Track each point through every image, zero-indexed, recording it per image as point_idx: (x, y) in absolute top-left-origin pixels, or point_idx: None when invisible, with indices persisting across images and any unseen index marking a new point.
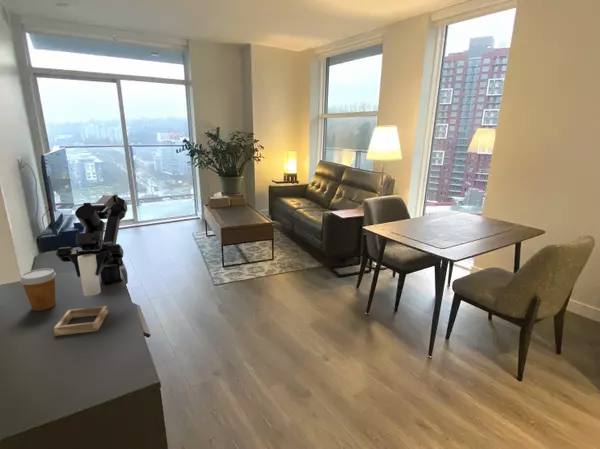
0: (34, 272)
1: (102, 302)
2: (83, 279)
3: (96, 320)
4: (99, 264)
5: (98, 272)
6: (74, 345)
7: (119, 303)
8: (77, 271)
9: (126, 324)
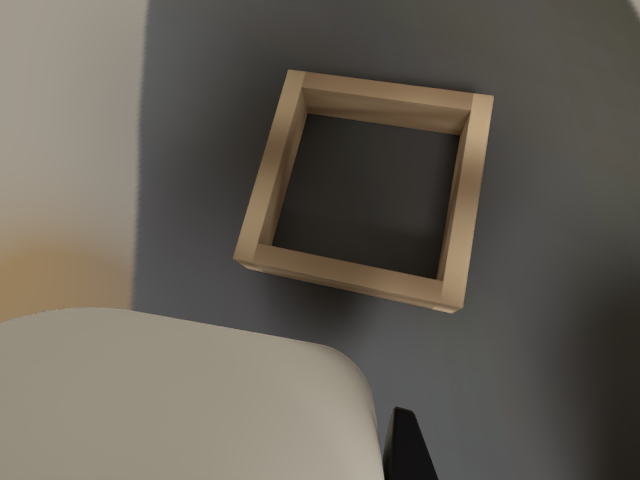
0: None
1: None
2: (340, 364)
3: (289, 96)
4: None
5: None
6: (380, 18)
7: None
8: (418, 474)
9: (178, 105)
